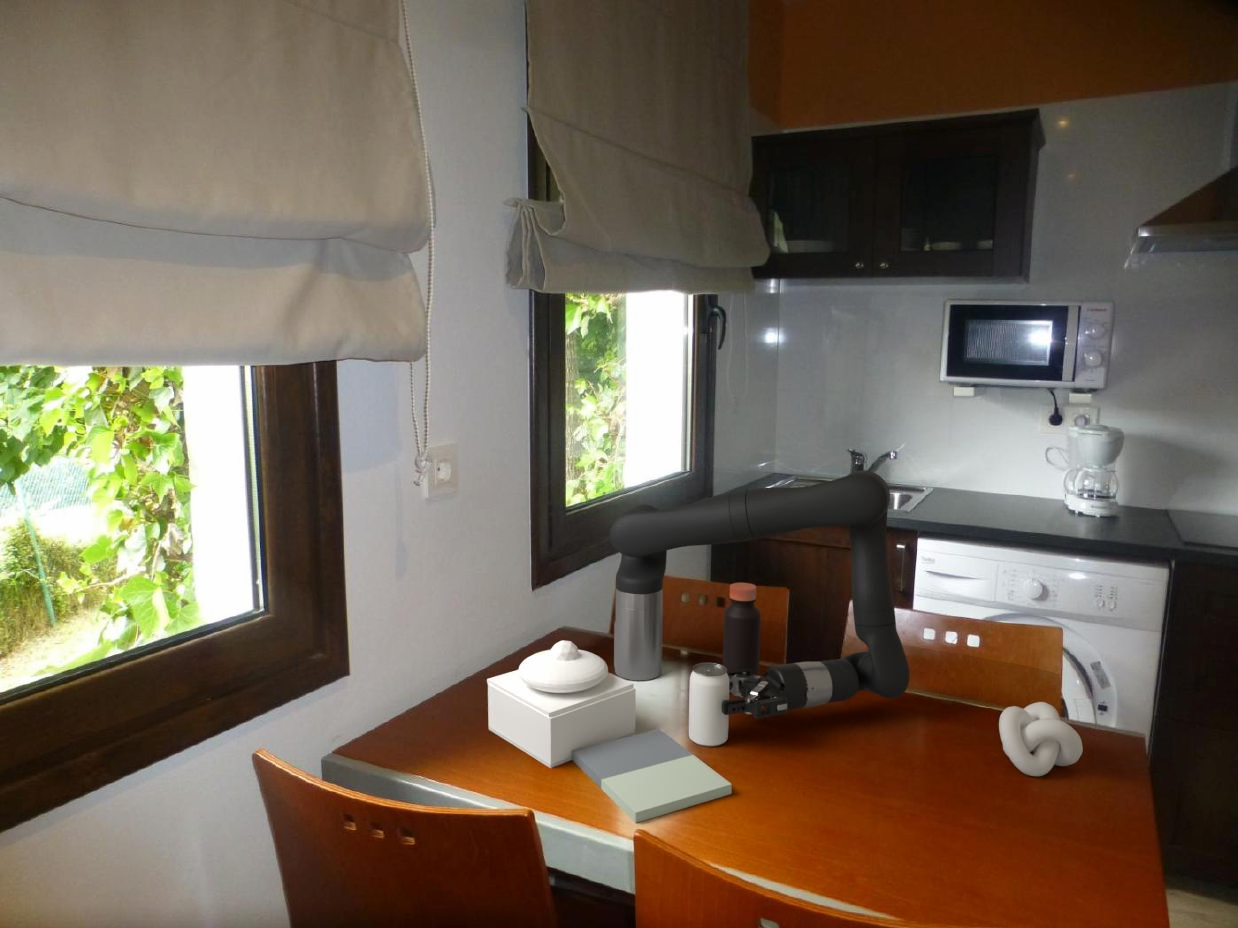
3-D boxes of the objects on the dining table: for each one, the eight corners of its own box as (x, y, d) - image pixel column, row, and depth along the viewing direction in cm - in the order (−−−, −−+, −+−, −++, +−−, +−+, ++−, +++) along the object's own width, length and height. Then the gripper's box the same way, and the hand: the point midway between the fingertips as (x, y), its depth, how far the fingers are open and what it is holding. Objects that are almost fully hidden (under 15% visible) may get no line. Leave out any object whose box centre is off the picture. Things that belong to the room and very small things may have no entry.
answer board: (571, 759, 132) (571, 750, 132) (659, 737, 140) (659, 728, 140) (635, 822, 115) (635, 812, 115) (731, 793, 123) (731, 783, 122)
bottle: (732, 678, 165) (735, 579, 162) (764, 687, 161) (767, 585, 158) (715, 690, 159) (718, 587, 156) (748, 699, 155) (751, 593, 153)
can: (727, 730, 143) (729, 662, 141) (728, 748, 136) (730, 677, 135) (688, 728, 143) (690, 660, 142) (688, 746, 137) (689, 675, 135)
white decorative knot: (1038, 792, 124) (1043, 734, 122) (972, 756, 134) (976, 702, 133) (1090, 775, 128) (1095, 719, 127) (1022, 742, 139) (1026, 690, 138)
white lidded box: (550, 769, 130) (550, 670, 127) (486, 729, 143) (485, 638, 141) (635, 735, 141) (636, 643, 139) (569, 700, 155) (568, 616, 152)
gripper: (778, 649, 150) (694, 660, 145) (822, 680, 137) (731, 692, 132) (776, 690, 151) (693, 701, 146) (820, 723, 138) (730, 738, 133)
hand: (711, 697), depth 139 cm, fingers open, 8 cm apart
